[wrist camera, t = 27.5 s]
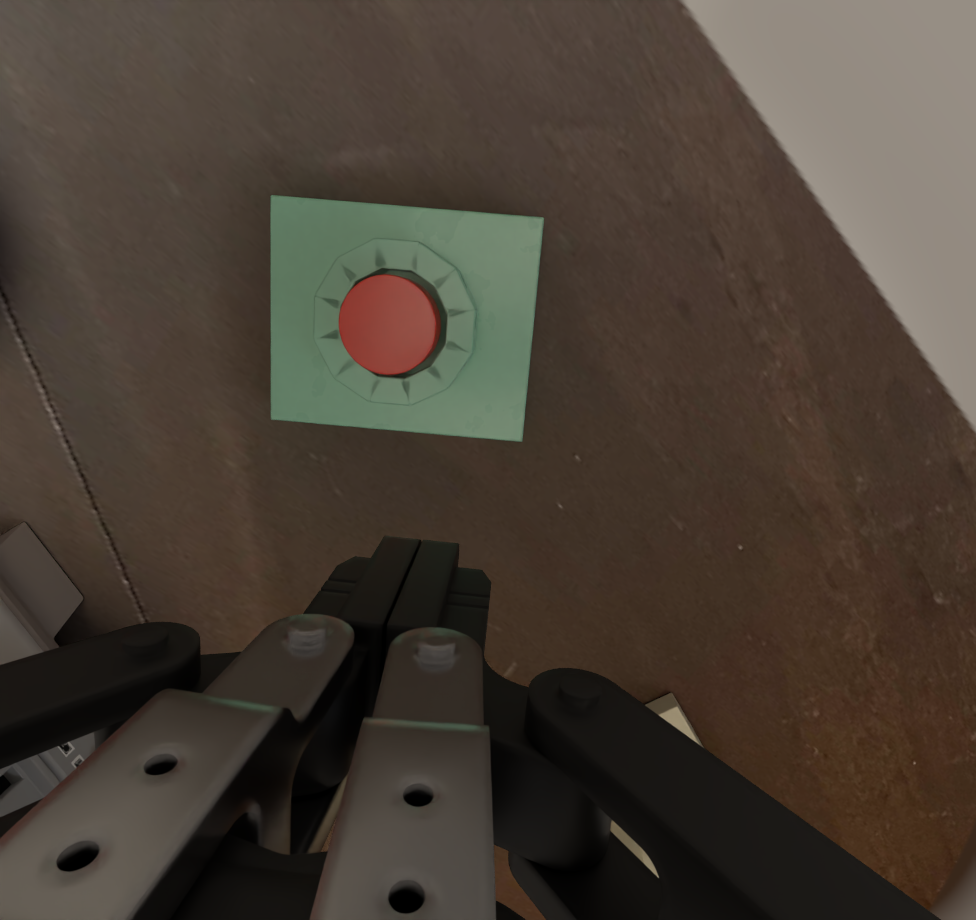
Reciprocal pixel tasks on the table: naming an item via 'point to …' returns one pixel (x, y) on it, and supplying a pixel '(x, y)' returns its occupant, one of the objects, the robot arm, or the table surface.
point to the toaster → (28, 631)
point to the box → (450, 281)
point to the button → (389, 324)
